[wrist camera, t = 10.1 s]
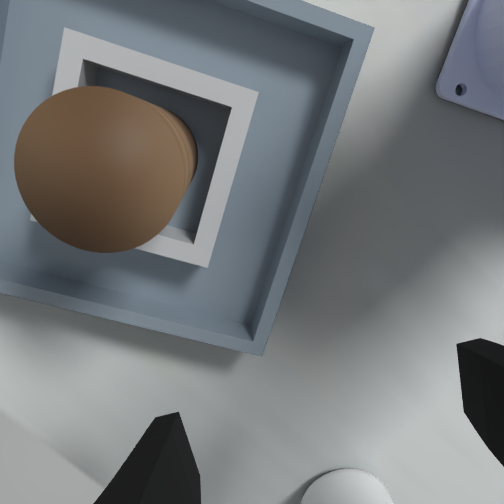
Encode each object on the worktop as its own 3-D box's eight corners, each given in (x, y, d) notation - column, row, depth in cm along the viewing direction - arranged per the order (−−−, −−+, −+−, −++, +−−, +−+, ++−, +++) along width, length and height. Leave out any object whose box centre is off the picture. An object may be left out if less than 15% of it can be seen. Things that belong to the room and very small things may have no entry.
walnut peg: (205, 117, 18) (196, 107, 10) (189, 210, 19) (169, 265, 11) (108, 95, 17) (19, 67, 10) (97, 192, 18) (8, 237, 11)
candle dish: (354, 41, 18) (377, 25, 15) (257, 331, 21) (262, 359, 19) (15, -82, 16) (-27, -125, 13) (-34, 258, 19) (-75, 278, 17)
